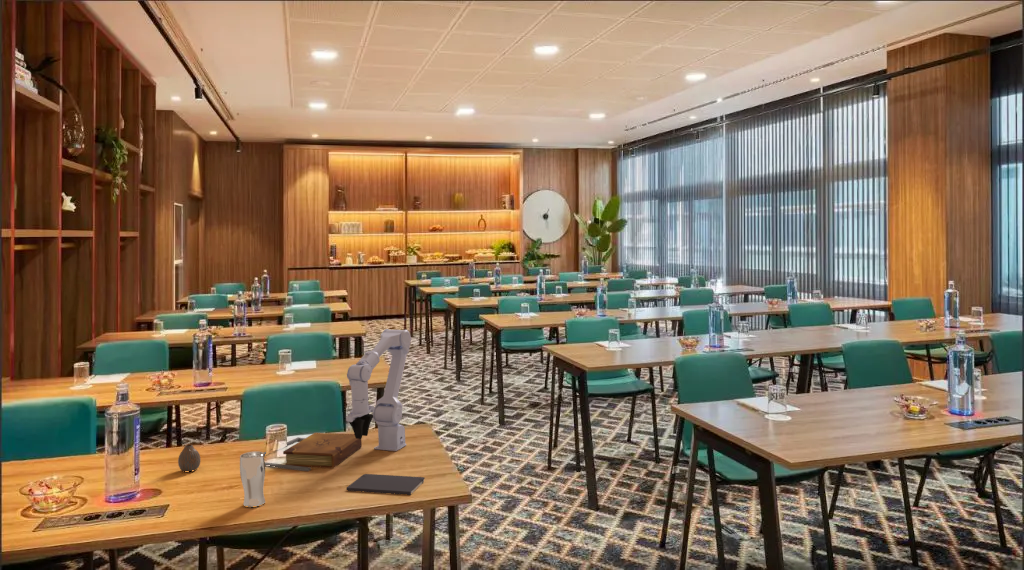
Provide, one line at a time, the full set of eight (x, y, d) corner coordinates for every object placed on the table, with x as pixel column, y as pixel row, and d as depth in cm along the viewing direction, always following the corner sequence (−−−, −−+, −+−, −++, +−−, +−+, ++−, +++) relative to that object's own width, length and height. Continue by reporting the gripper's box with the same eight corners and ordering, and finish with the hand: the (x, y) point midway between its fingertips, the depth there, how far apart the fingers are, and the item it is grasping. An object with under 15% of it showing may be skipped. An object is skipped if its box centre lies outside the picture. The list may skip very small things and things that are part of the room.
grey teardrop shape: (175, 471, 236) (173, 446, 236) (195, 466, 241) (194, 441, 241) (183, 475, 231) (182, 449, 231) (204, 470, 236) (203, 445, 236)
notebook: (346, 492, 214) (411, 496, 209) (346, 487, 213) (410, 491, 209) (364, 478, 226) (425, 482, 221) (364, 473, 226) (425, 477, 221)
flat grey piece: (357, 445, 260) (357, 443, 260) (308, 471, 232) (308, 468, 232) (297, 439, 270) (297, 437, 270) (243, 463, 242) (243, 461, 242)
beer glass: (258, 509, 200) (255, 458, 199) (237, 508, 202) (234, 458, 201) (271, 500, 207) (269, 451, 206) (250, 499, 208) (247, 450, 207)
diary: (334, 470, 235) (333, 453, 234) (283, 467, 239) (283, 451, 238) (361, 448, 257) (361, 433, 257) (315, 447, 261) (314, 432, 261)
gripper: (361, 393, 249) (363, 430, 250) (338, 402, 235) (339, 442, 236) (378, 394, 246) (380, 431, 247) (355, 404, 233) (357, 443, 234)
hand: (361, 437), depth 242 cm, fingers open, 3 cm apart
